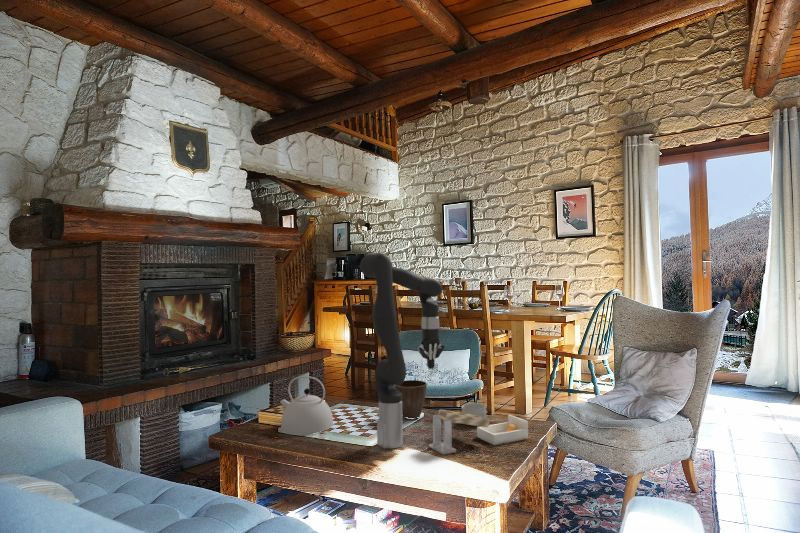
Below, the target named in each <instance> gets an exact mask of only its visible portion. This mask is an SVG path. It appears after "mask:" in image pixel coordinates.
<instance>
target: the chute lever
mask: <svg viewBox="0 0 800 533" xmlns="http://www.w3.org/2000/svg"><path fill="white" fill-rule="evenodd" d="M437 415H438V418H441V420H442V421H443V420H449V419H450V420H451V421H452V423H457V424H463V425H468V426H469V425H470V426H476V427H488V425H490V419H487V418H486V419H482V418H481V416H476V415H470V414H464V413H462V412H456V411H453V410H452V411H451V410H447V409H439V410H438V414H437Z"/></svg>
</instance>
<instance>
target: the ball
mask: <svg viewBox="0 0 800 533" xmlns="http://www.w3.org/2000/svg"><path fill="white" fill-rule="evenodd" d="M515 430H517V429H516V427H515V425H513V424H510V425H508V426H507V432H509V431H515Z"/></svg>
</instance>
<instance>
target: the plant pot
mask: <svg viewBox="0 0 800 533" xmlns="http://www.w3.org/2000/svg"><path fill="white" fill-rule="evenodd" d="M427 385H428V383H427V381H426V382H425V381H423V380H415V379H414V380H412V379H405V380H404V382H403V383H402V384H400V385H395V387H396V389H397V390H398V391H399V392H401V394H402V418H403V417H408V418H417V417H419V418H421V414H422V411H423V408H424V404H425V398H426V394H427Z"/></svg>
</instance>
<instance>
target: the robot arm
mask: <svg viewBox="0 0 800 533" xmlns="http://www.w3.org/2000/svg"><path fill="white" fill-rule="evenodd" d="M392 265H393V264H392V260H391V259H390V257H389V256H388V255H387V254H386V253H371V254H370V253H369V254H367V255H365V256H364V257H362V259H361V260H360V264H359V268H360V271H361V272H362V274H363V275H364V276H366V278H370V279H375V281H376V282H375V283H376V292H377V293H376V296H375V297H376V298H375V300H374V304H373V307H372V316H371V317H372V320H373V321H372V322H373V329H374V331H375V334H376V336H377V337H378V339H379V341H380V343H381V344H382V346H383V347H384V350H385V352H386V358H384V359H381V360H380V361H379V362H378V363H377V366H376V368H375V385H376V395H377V397H378V419H377V420H376V440H377V441H376V444H377V445H378V446H379V447H380V448H382V449H398V448H400V447H402V446H403V444H404V443H403V439H404V438H403V436H404V435H403V433H404V432H403V430H404V429H403V427H404V426H403V415H402V394H401V392H399V391H398V390H397V389H396V387H395V385H400V384H402V383H403V382H404V381H406V377H407V366H406V362H405V358H404V354H403V351H402V350H403V349H402V345H401V340H400V332H399V325H398V319H397V312H396V304H395V296H394V284H396V285H397V286H400V287H404V288H406V289H408V290H411V291H413V292H418V298H419V300H420V304H421V344H420V345H419V346H417V347H416V350H417V351H418V353H419V355H421V357H422V358H423V359H426V367H427V368H428V369H430V370H433V369H434V368H435V366H436V364H435V363H436V362H435V360H436V359H438V358H439V357H440V355H441V354H442V353H443V351H444V349H445V345H443V344H442V343H441V341H440V338H441V336H440V317H439V316H440V315H439V313H440V312H439V309H440V308H439V304H438V303H437V302H434V301H433V299H432V298H436V297H439V296H440V295H441V294H442V293H443V285H442V284H441V282H440V281H439V280H436V279H435V278H431V277H426V276H423V275H420V274H418V273H416V272H414V271H411V270H408V269H404V268H399V267H395V266H392Z"/></svg>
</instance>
